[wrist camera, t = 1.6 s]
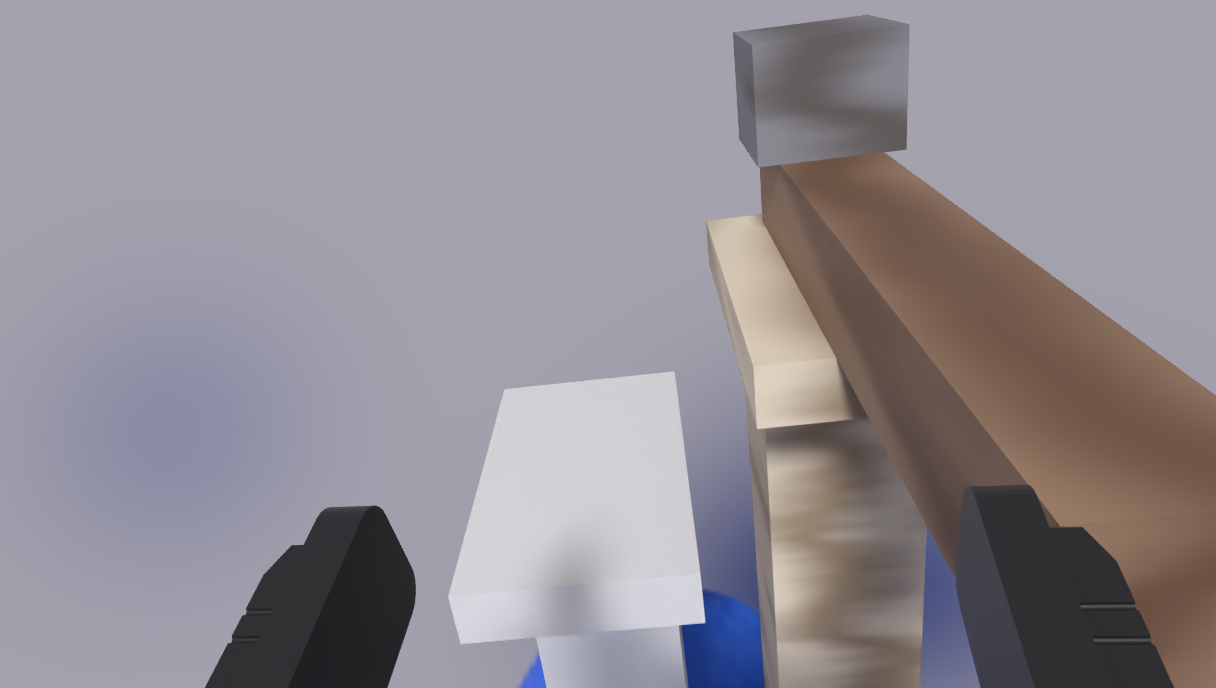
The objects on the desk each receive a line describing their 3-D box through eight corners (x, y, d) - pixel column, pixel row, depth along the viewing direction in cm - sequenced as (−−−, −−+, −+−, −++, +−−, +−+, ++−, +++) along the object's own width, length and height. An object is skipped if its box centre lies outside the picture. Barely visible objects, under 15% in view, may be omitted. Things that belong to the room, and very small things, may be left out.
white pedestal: (725, 735, 48) (691, 369, 38) (763, 1011, 36) (726, 571, 26) (562, 748, 49) (487, 390, 39) (542, 1024, 36) (423, 598, 26)
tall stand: (900, 722, 48) (915, 196, 35) (1001, 998, 35) (1084, 332, 22) (732, 735, 48) (687, 223, 36) (772, 1011, 36) (724, 369, 23)
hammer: (866, 209, 34) (867, 14, 31) (1350, 702, 11) (1532, 165, 8) (744, 223, 35) (733, 32, 31) (981, 730, 12) (1024, 222, 9)
